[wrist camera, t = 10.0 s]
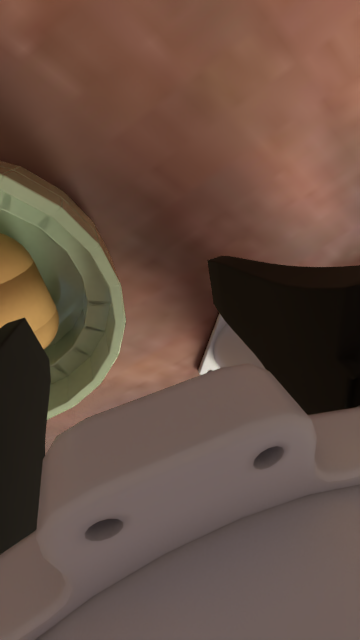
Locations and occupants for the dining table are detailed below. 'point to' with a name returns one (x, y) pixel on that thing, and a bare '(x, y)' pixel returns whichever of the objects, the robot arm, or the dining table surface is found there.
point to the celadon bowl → (67, 282)
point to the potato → (25, 292)
